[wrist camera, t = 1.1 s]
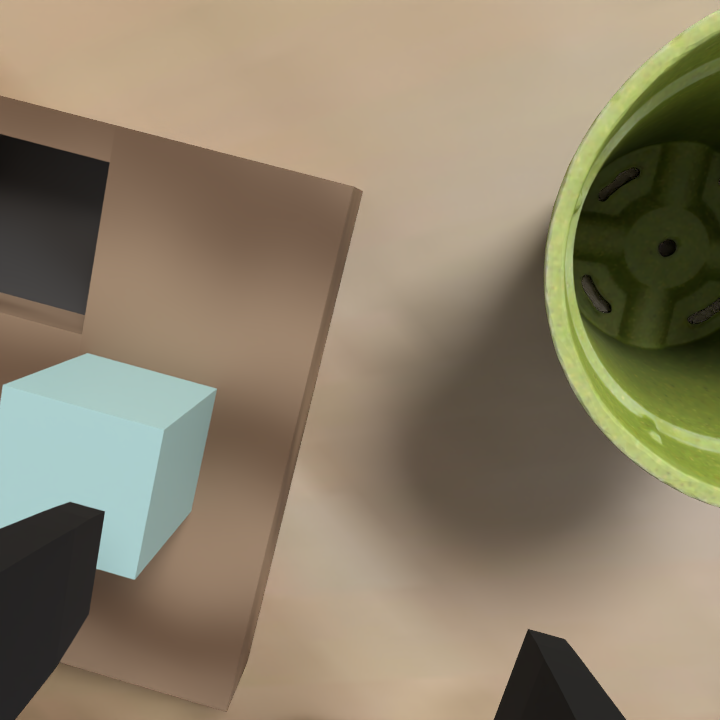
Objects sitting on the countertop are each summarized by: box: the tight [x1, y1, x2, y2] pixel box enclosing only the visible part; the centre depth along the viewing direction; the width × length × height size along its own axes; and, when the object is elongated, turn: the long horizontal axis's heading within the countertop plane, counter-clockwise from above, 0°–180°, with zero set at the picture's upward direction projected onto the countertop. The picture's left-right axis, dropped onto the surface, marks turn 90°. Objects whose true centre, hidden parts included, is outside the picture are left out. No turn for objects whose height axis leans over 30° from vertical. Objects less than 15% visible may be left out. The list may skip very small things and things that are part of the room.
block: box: [0, 353, 217, 580], centre depth 18 cm, size 4×4×4 cm
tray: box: [0, 96, 363, 712], centre depth 20 cm, size 17×16×4 cm
